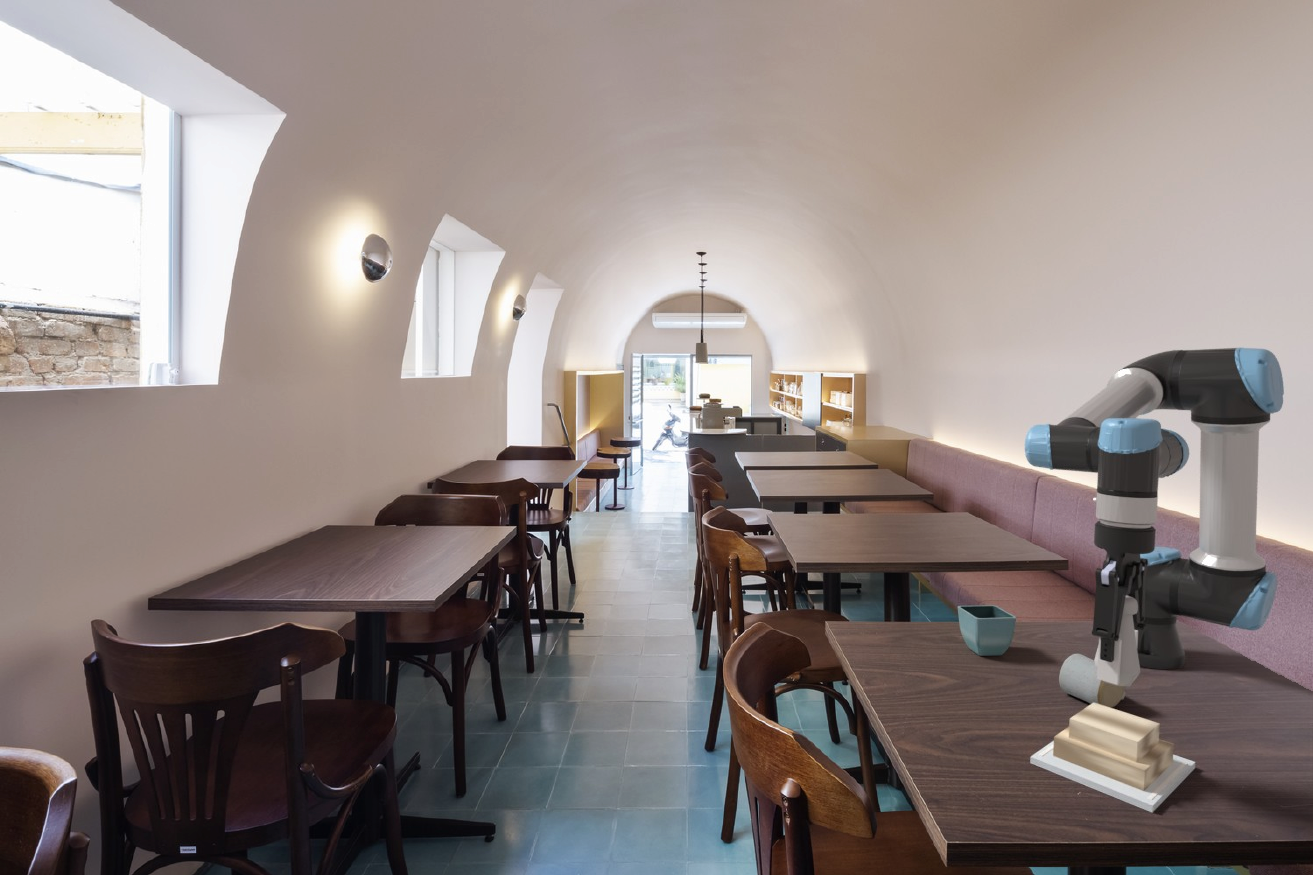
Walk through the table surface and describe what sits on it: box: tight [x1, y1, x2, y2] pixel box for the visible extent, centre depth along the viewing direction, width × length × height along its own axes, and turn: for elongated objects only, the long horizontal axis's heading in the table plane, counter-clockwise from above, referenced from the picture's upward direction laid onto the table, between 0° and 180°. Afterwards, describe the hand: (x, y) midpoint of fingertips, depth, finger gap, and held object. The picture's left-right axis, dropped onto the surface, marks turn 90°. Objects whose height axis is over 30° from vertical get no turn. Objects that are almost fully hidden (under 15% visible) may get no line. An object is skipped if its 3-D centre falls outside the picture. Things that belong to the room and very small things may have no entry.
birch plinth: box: [1053, 703, 1175, 791], centre depth 108 cm, size 12×12×6 cm
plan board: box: [1029, 740, 1196, 813], centre depth 108 cm, size 18×16×1 cm
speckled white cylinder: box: [1058, 653, 1126, 708], centre depth 130 cm, size 11×8×8 cm
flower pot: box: [957, 604, 1017, 657], centre depth 153 cm, size 9×9×9 cm
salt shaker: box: [1093, 595, 1141, 687], centre depth 106 cm, size 6×6×13 cm
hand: (1116, 675), depth 107 cm, fingers closed on salt shaker, 6 cm apart
